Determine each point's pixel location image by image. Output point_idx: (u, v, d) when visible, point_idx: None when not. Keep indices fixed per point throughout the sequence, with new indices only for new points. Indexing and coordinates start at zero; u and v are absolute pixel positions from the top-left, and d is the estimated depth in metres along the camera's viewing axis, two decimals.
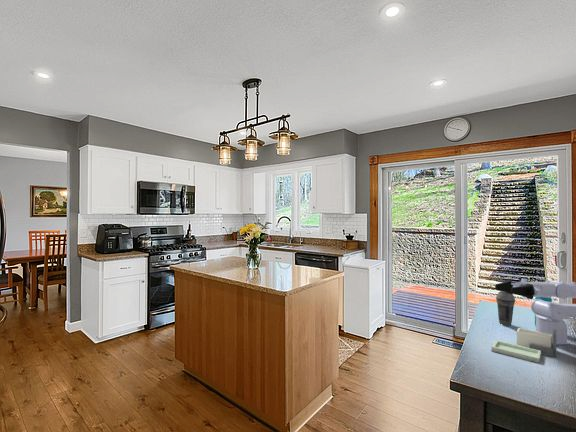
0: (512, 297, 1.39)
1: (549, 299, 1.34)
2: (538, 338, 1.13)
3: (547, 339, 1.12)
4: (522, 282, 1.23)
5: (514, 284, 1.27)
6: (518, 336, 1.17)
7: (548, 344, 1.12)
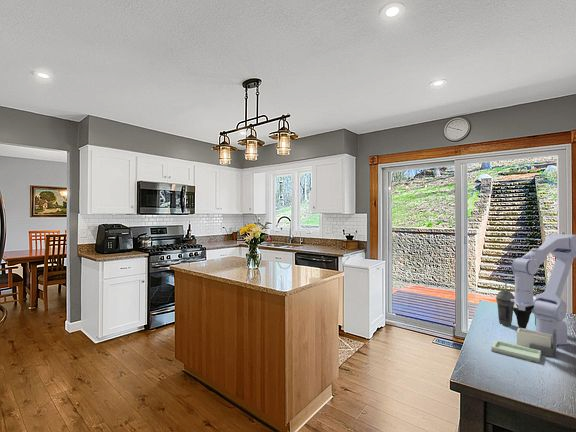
0: (512, 297, 1.39)
1: None
2: (538, 338, 1.13)
3: (547, 339, 1.12)
4: None
5: None
6: (518, 336, 1.17)
7: (548, 344, 1.12)
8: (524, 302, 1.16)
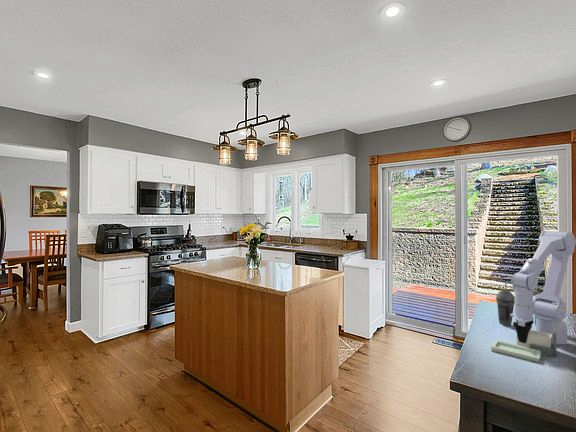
0: (512, 297, 1.39)
1: None
2: (538, 337, 1.13)
3: (547, 339, 1.12)
4: None
5: None
6: None
7: (548, 344, 1.11)
8: (524, 317, 1.16)
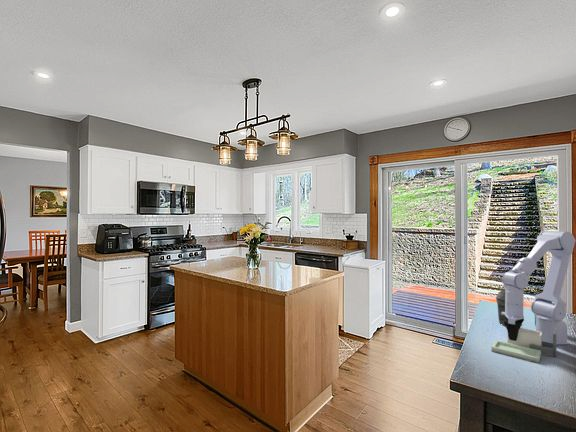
0: None
1: None
2: (529, 335, 1.15)
3: (537, 336, 1.14)
4: None
5: None
6: None
7: (538, 341, 1.13)
8: (514, 315, 1.18)
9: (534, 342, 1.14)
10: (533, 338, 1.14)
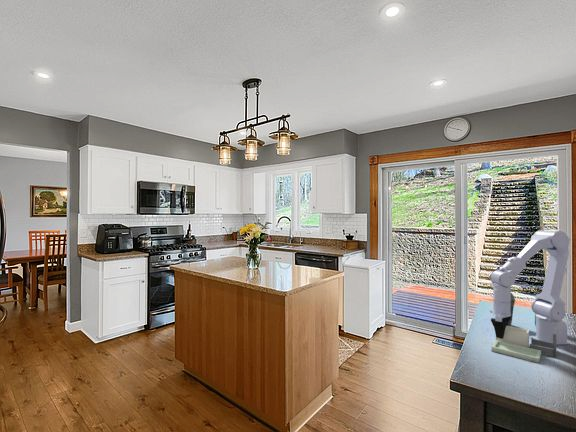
0: (512, 297, 1.39)
1: None
2: (516, 333, 1.18)
3: (524, 334, 1.16)
4: None
5: None
6: None
7: (525, 339, 1.16)
8: (501, 313, 1.21)
9: (521, 340, 1.17)
10: (520, 336, 1.17)
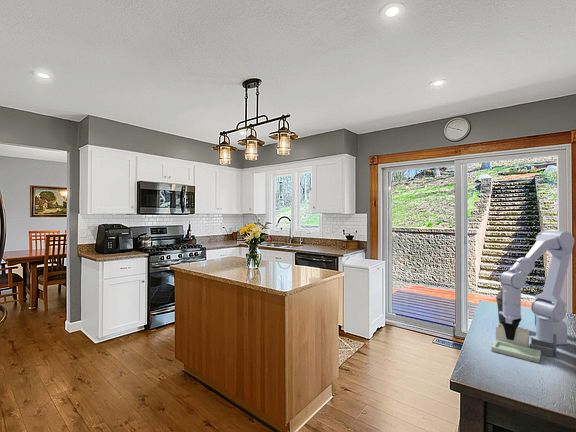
0: None
1: None
2: (516, 332, 1.18)
3: (524, 334, 1.16)
4: None
5: None
6: (497, 331, 1.22)
7: (525, 338, 1.16)
8: (511, 315, 1.19)
9: (521, 339, 1.17)
10: (520, 335, 1.17)
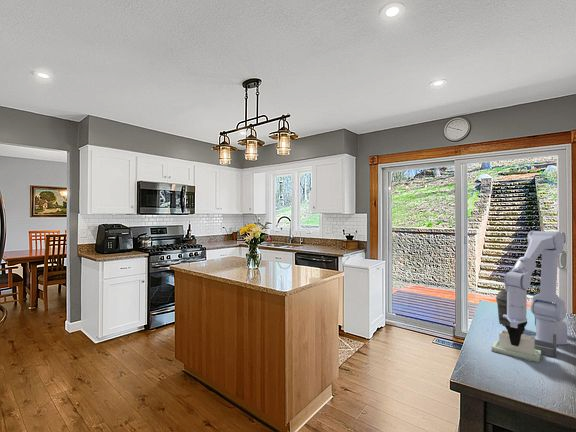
0: None
1: None
2: (521, 340, 1.09)
3: (530, 341, 1.08)
4: None
5: None
6: (500, 338, 1.13)
7: (531, 347, 1.07)
8: (517, 318, 1.10)
9: (526, 347, 1.08)
10: (525, 343, 1.08)
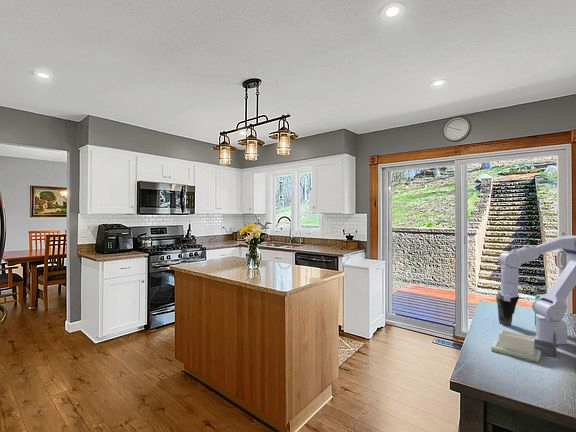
0: None
1: None
2: (521, 340, 1.09)
3: (530, 341, 1.08)
4: None
5: None
6: (500, 338, 1.13)
7: (531, 347, 1.07)
8: (509, 293, 1.23)
9: (526, 347, 1.08)
10: (525, 343, 1.08)
